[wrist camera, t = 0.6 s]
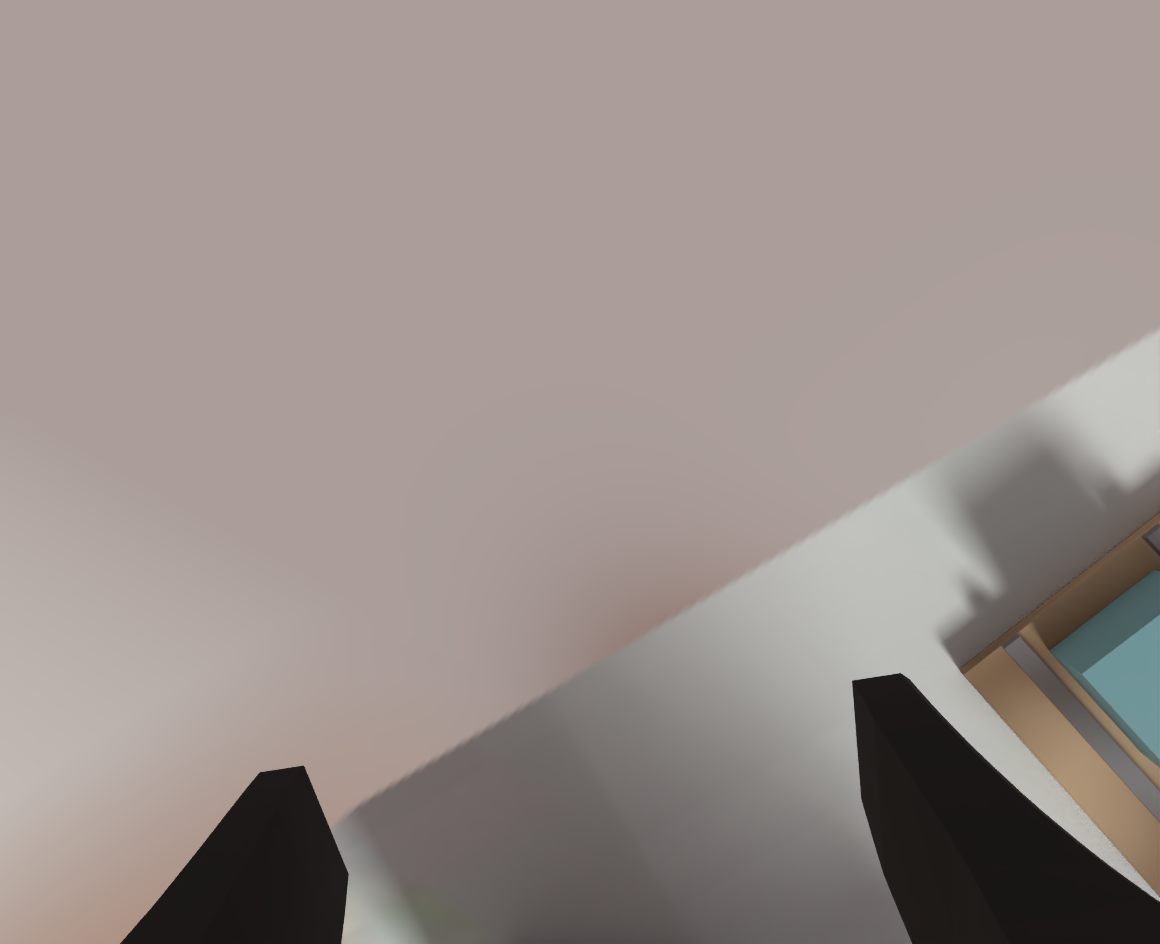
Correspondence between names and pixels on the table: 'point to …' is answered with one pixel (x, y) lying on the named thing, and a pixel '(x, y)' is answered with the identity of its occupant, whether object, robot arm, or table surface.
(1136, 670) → the teal cube
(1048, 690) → the count board
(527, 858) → the table surface
